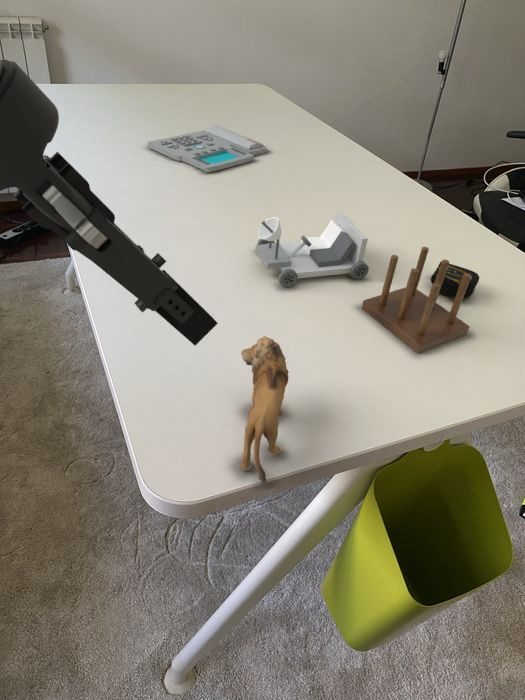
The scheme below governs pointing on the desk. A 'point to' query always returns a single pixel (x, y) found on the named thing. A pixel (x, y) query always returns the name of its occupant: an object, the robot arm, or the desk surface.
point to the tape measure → (455, 281)
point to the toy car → (314, 251)
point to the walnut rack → (418, 309)
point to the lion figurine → (264, 399)
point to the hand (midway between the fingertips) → (202, 330)
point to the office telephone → (209, 148)
